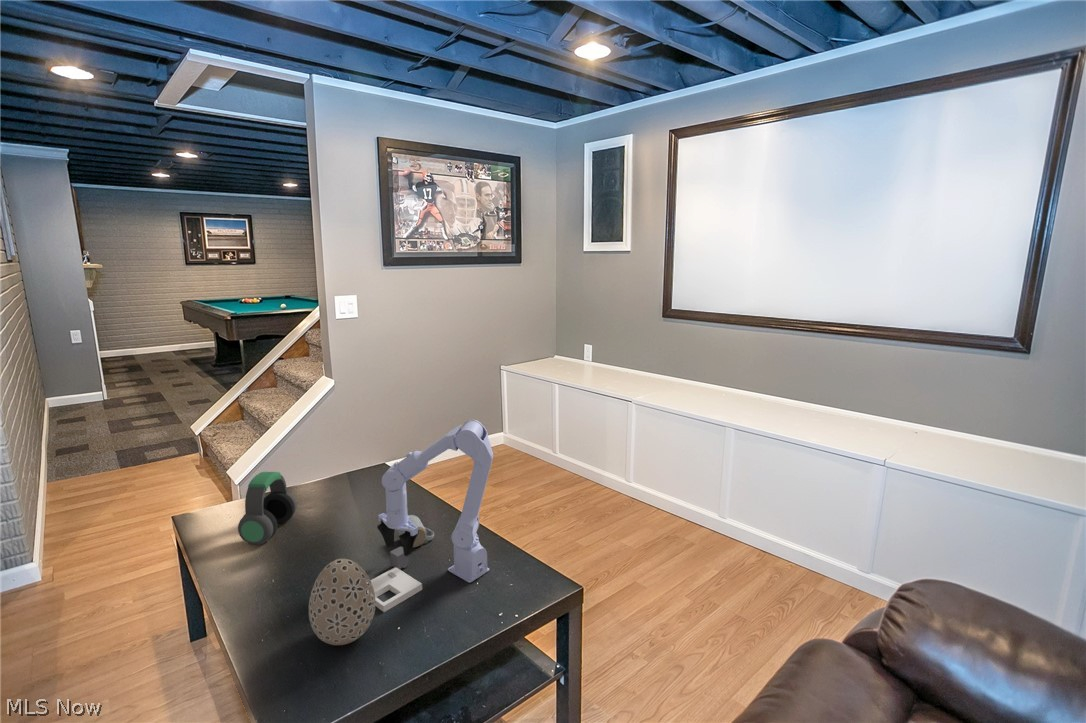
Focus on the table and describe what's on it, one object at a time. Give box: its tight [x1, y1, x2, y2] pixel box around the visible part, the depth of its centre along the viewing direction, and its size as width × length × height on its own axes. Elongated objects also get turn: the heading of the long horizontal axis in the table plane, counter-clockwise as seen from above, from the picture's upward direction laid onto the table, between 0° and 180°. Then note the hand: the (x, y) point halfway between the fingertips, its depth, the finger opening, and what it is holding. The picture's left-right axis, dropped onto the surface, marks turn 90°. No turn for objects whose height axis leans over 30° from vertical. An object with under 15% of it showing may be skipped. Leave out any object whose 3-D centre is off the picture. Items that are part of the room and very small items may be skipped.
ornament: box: [308, 558, 376, 646], centre depth 123 cm, size 15×15×20 cm
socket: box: [367, 567, 423, 613], centre depth 142 cm, size 12×12×2 cm
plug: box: [389, 546, 410, 570], centre depth 153 cm, size 4×4×5 cm
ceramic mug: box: [396, 514, 435, 548], centre depth 166 cm, size 11×8×8 cm
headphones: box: [237, 471, 298, 546], centre depth 170 cm, size 19×11×20 cm, turn 179°
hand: (398, 550), depth 152 cm, fingers open, 7 cm apart
